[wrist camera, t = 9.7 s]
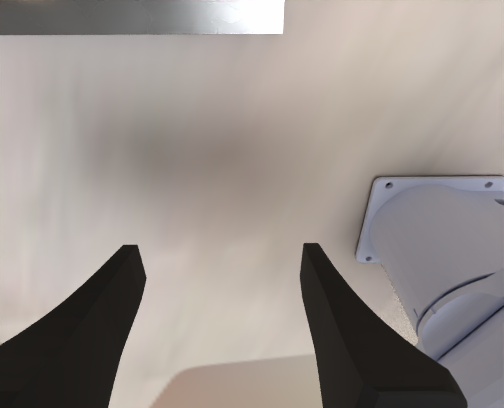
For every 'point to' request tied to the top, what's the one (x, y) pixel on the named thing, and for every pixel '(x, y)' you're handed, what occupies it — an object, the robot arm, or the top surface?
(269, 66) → the top surface
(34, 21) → the square socket plate
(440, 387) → the robot arm
